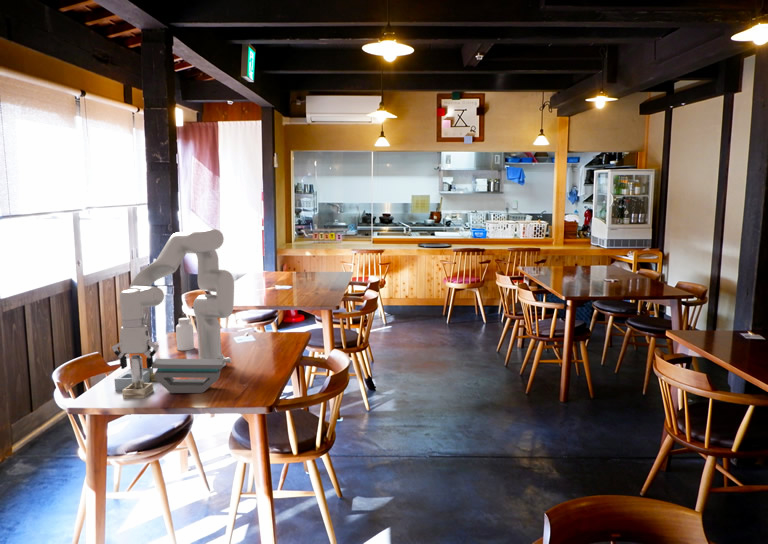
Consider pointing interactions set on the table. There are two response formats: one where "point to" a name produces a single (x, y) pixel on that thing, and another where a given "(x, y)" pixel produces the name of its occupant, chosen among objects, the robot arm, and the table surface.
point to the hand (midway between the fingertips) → (137, 367)
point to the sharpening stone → (187, 374)
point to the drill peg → (137, 372)
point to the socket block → (130, 378)
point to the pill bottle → (184, 335)
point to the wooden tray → (137, 391)
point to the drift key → (152, 377)
